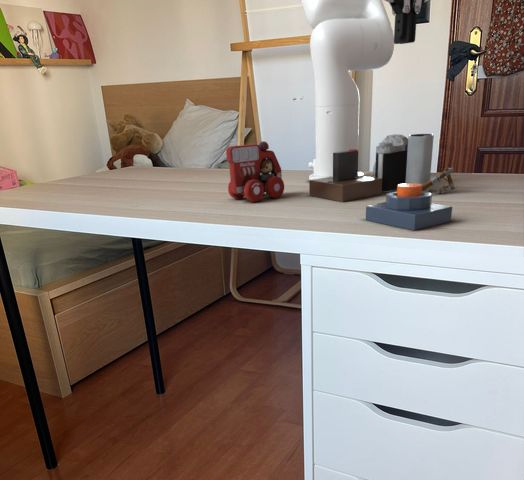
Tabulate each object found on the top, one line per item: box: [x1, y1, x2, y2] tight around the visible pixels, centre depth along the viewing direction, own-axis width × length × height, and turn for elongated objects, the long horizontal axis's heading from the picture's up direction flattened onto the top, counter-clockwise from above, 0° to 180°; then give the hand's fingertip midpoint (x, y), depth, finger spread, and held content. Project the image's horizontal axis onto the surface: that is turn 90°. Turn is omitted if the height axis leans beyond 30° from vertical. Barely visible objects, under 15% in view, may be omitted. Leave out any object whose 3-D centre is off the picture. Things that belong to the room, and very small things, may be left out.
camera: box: [372, 133, 408, 193], centre depth 108 cm, size 15×7×10 cm, turn 131°
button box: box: [365, 190, 453, 231], centre depth 80 cm, size 10×8×4 cm
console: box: [308, 175, 383, 203], centre depth 103 cm, size 10×10×3 cm
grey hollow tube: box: [406, 133, 435, 192], centre depth 101 cm, size 4×4×10 cm
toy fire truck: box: [225, 141, 285, 203], centre depth 103 cm, size 7×12×10 cm, turn 128°
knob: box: [333, 149, 359, 181], centre depth 101 cm, size 5×2×5 cm, turn 123°
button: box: [396, 183, 422, 197], centre depth 79 cm, size 4×4×2 cm
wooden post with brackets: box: [422, 167, 456, 194], centre depth 99 cm, size 2×8×4 cm, turn 106°
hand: (404, 42), depth 87 cm, fingers closed
